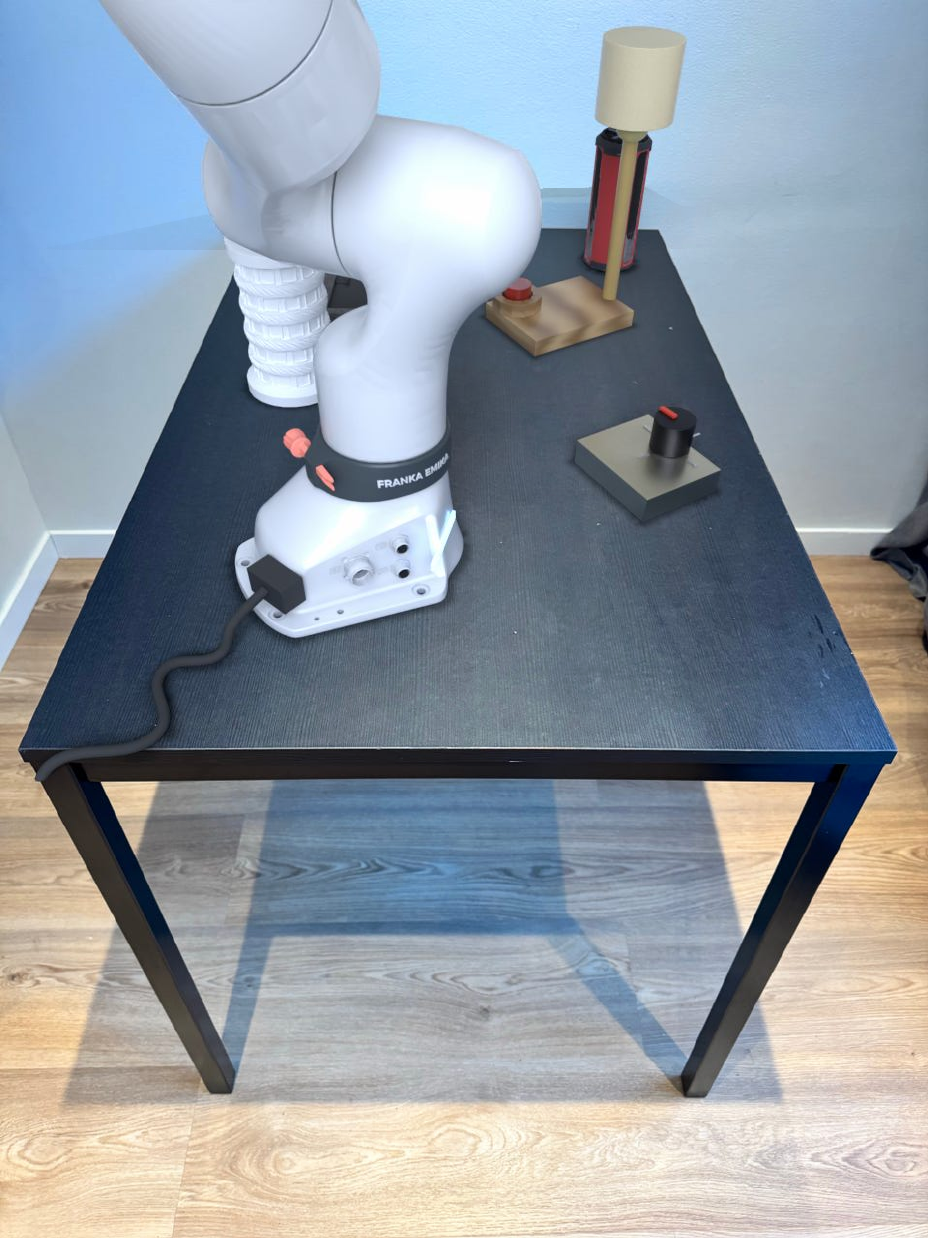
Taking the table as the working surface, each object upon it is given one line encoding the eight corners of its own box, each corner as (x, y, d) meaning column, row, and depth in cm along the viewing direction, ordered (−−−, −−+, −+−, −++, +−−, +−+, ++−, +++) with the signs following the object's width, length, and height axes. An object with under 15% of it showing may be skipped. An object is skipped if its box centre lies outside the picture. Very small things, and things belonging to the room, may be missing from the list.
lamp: (602, 319, 112) (638, 52, 91) (561, 291, 117) (586, 32, 96) (657, 302, 115) (704, 41, 94) (615, 275, 120) (650, 22, 99)
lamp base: (533, 357, 113) (535, 328, 110) (482, 316, 120) (483, 288, 117) (632, 325, 119) (636, 297, 116) (578, 289, 126) (581, 262, 123)
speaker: (611, 279, 128) (629, 146, 115) (572, 261, 132) (585, 131, 119) (644, 263, 132) (665, 133, 119) (604, 246, 136) (621, 119, 123)
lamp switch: (513, 304, 115) (513, 292, 114) (498, 293, 117) (498, 280, 116) (535, 298, 117) (536, 285, 115) (520, 287, 119) (521, 274, 117)
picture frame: (432, 326, 118) (439, 259, 132) (431, 312, 116) (439, 246, 131) (313, 323, 118) (333, 257, 132) (311, 309, 116) (332, 244, 131)
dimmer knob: (698, 448, 95) (706, 418, 92) (669, 462, 93) (676, 432, 90) (669, 429, 97) (675, 399, 94) (640, 442, 95) (646, 412, 92)
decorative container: (331, 410, 104) (313, 261, 91) (236, 403, 105) (205, 255, 92) (351, 360, 112) (338, 216, 99) (263, 353, 113) (238, 210, 100)
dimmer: (642, 522, 91) (647, 498, 88) (574, 462, 98) (577, 438, 95) (731, 485, 95) (738, 461, 93) (659, 430, 102) (664, 406, 100)
